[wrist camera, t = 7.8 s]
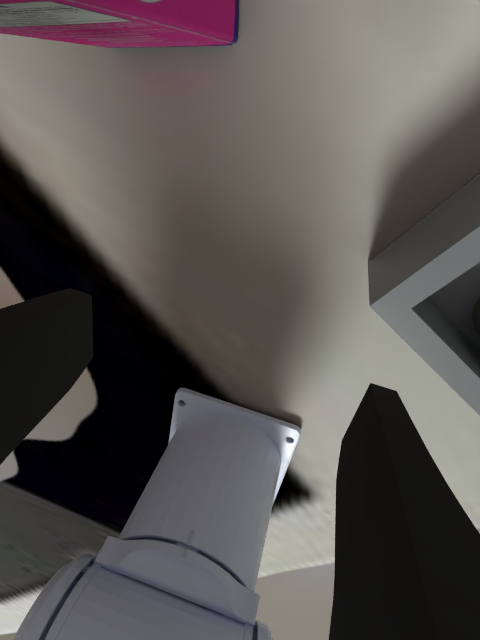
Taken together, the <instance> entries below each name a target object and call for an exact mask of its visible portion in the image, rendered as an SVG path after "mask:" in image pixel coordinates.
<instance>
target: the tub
mask: <svg viewBox="0 0 480 640" xmlns="http://www.w3.org/2000/svg"><path fill="white" fill-rule="evenodd" d="M368 277H369V302H370V307H371V308H372V309H373V310H374V311H375V312H376V313H377V314H378V315H379V316H380V317H381V318H382V319H383V320H384V321H385V322H386V323H387V324H388V325H389V326H390V327H391V328H392V329H393V330H394V331H395V332H396V333H397V334H398V335H399V336H400V337H401V338H402V339H403V340H404V341H405V342H406V343H407V344H408V345H409V346H410V347H411V348H412V349H413V350H414V351H415V352H416V353H417V354H418V355H419V356H420V357H421V358H422V359H423V360H424V361H425V362H426V363H427V364H428V365H429V366H430V367H431V368H432V369H433V370H434V371H435V372H436V373H437V374H438V375H439V376H440V377H441V378H442V379H443V380H444V381H445V382H446V383H447V384H448V385H449V386H450V387H451V388H452V389H453V390H454V391H456V392H457V393H458V394H459V395H460V396H461V397H462V398H463V399H464V400H465V401H466V402H467V403H468V404H469V405H470V406H471V407H472V408H473V409H474V410H475V411H476V412H477V413H478V414H479V415H480V337H479V335H478V333H477V330H476V328H475V326H474V323H473V319H472V314H473V309H474V306H475V304H476V302H477V301H478V300H479V298H480V173H479V174H478V175H476V176H475V177H474V178H473V179H471V180H470V181H469V182H468V183H466V184H465V185H464V186H462V187H461V188H460V189H459V190H457V191H456V192H455V193H454V194H452V195H451V196H450V197H449V198H447V199H446V200H445V201H444V202H442V203H441V204H440V205H439V206H437V207H436V208H435V209H434V210H432V211H431V212H430V213H429V214H427V215H426V216H425V217H424V218H422V219H421V220H420V221H419V222H417V223H416V224H415V225H414V226H412V227H411V228H410V229H409V230H407V231H406V232H405V233H404V234H402V235H401V236H400V237H399V238H397V239H396V240H395V241H394V242H392V243H391V244H390V245H389V246H387V247H386V248H385V249H384V250H382V251H381V252H380V253H379V254H377V255H376V256H375V257H374V258H372V259H371V260H370V261H369V262H368Z"/></svg>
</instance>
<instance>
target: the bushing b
mask: <svg viewBox="0 0 480 640" xmlns="http://www.w3.org/2000/svg"><path fill="white" fill-rule="evenodd" d="M472 319H473V323H474V326H475V328H476V330H477V333H478V335H479V337H480V298H479V300H478V301H477V302H476V304H475V306H474V309H473V314H472Z"/></svg>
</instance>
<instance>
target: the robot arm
mask: <svg viewBox="0 0 480 640" xmlns="http://www.w3.org/2000/svg"><path fill="white" fill-rule="evenodd" d="M92 358H93V331H92V295H89V294H86V293H83V292H80V291H76V290H73V289H66V290H62V291H58V292H54V293H51V294H47V295H44V296H40V297H37V298H34V299H31V300H28V301H24V302H21V303H18V304H15V305H11V306H8V307H5V308H2V309H0V464H1V463H2V462H3V461H4V460H5V458H6V457H7V456H8V455H9V454H10V453H11V452H12V451H13V450H14V449H15V448H16V447H17V446H18V444H19V443H20V442H21V441H22V440H23V439H24V438H25V437H26V436H27V435H28V434H29V433H30V432H31V431H32V429H34V427H35V426H36V425H37V424H38V423H39V422H40V421H41V420H42V419H43V418H44V417H45V416H46V415H47V414H48V412H50V410H51V409H52V408H53V407H54V406H55V405H56V404H57V403H58V402H59V401H60V400H61V399H62V397H63V396H64V395H65V394H66V393H67V392H68V391H69V390H70V389H71V387H72V386H73V385H74V383H75V382H76V381H77V379H78V378H79V377H80V375H81V374H82V372H83V371H84V370H85V368H86V367H87V365H88V364H89V362H90V361H91V359H92ZM181 400H182V401H184V402H182V401H181ZM300 434H301V430H300V428H299V427H298V426H296V425H294V424H291V423H288V422H285V421H282V420H279V419H276V418H273V417H270V416H267V415H264V414H261V413H258V412H255V411H252V410H249V409H246V408H243V407H240V406H237V405H234V404H231V403H228V402H225V401H222V400H219V399H216V398H213V397H210V396H207V395H204V394H201V393H198V392H195V391H192V390H189V389H186V388H180V389H178V390H177V392H176V394H175V401H174V408H173V415H172V422H171V429H170V436H169V443H168V447H167V448H166V450H165V452H164V454H163V456H162V458H161V460H160V462H159V463H158V465H157V467H156V469H155V471H154V473H153V475H152V476H151V478H150V480H149V482H148V484H147V486H146V488H145V490H144V491H143V493H142V495H141V497H140V499H139V501H138V503H137V504H136V506H135V508H134V510H133V512H132V514H131V516H130V517H129V519H128V521H127V523H126V525H125V527H124V529H123V531H122V532H121V534H120V536H119V538H118V539H117V538H114V537H111V536H109V537H108V538H107V540H106V541H105V543H104V545H103V547H102V548H101V550H100V552H99V554H98V556H97V557H96V556H93V555H91V554H83V555H81V556H79V557H78V558H76V559H75V560H74V561H72V562H70V563H69V564H67V565H65V566H64V567H62V568H61V569H60V570H59V571H58V572H57V573H56V574H55V575H54V576H53V577H52V579H51V580H50V581H49V582H48V584H47V585H46V586H45V588H44V589H43V590H42V592H41V593H40V595H39V596H38V598H37V599H36V601H35V602H34V604H33V605H32V607H31V608H30V610H29V612H28V613H27V615H26V617H25V619H24V620H23V622H22V624H21V626H20V628H19V629H18V631H17V633H16V635H15V637H14V639H13V640H273V639H272V636H271V632H270V628H269V627H268V625H266V624H265V623H262V622H260V621H256V622H255V618H256V613H257V609H258V604H259V598H260V595H259V594H258V593H255V592H254V590H255V585H256V580H257V576H258V571H259V566H260V561H261V557H262V552H263V547H264V543H265V538H266V533H267V528H268V524H269V519H270V514H271V509H272V505H273V503H274V500H275V498H276V495H277V493H278V490H279V488H280V485H281V483H282V480H283V478H284V475H285V473H286V470H287V468H288V465H289V463H290V460H291V458H292V455H293V453H294V450H295V448H296V445H297V443H298V440H299V438H300ZM288 437H292V438H288ZM329 640H480V534H479V532H478V531H477V529H476V528H475V526H474V525H473V523H472V522H471V520H470V519H469V517H468V516H467V514H466V513H465V511H464V510H463V508H462V506H461V505H460V503H459V502H458V500H457V499H456V497H455V495H454V494H453V492H452V491H451V489H450V488H449V486H448V484H447V483H446V481H445V479H444V478H443V476H442V474H441V473H440V471H439V469H438V467H437V466H436V464H435V462H434V460H433V459H432V457H431V455H430V453H429V452H428V450H427V448H426V446H425V444H424V443H423V441H422V439H421V437H420V435H419V433H418V431H417V429H416V428H415V426H414V424H413V422H412V420H411V418H410V416H409V414H408V412H407V410H406V408H405V406H404V404H403V403H402V401H401V399H400V397H399V395H398V393H397V391H394V390H391V389H388V388H385V387H381V386H378V385H375V384H372V383H370V385H369V387H368V389H367V391H366V393H365V395H364V397H363V399H362V401H361V403H360V405H359V407H358V409H357V411H356V413H355V415H354V417H353V419H352V421H351V423H350V425H349V427H348V429H347V431H346V433H345V435H344V437H343V439H342V444H341V450H340V457H339V464H338V471H337V479H336V524H335V579H334V596H333V607H332V616H331V625H330V634H329Z"/></svg>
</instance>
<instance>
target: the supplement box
mask: <svg viewBox="0 0 480 640" xmlns="http://www.w3.org/2000/svg"><path fill="white" fill-rule="evenodd" d="M0 33H2V34H12V35H18V36H25V37H33V38H41V39H49V40H56V41H64V42H71V43H78V44H86V45H94V46H101V47H108V48H123V47H183V46H218V45H232V44H234V43H236V42H237V38H238V0H0Z"/></svg>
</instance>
